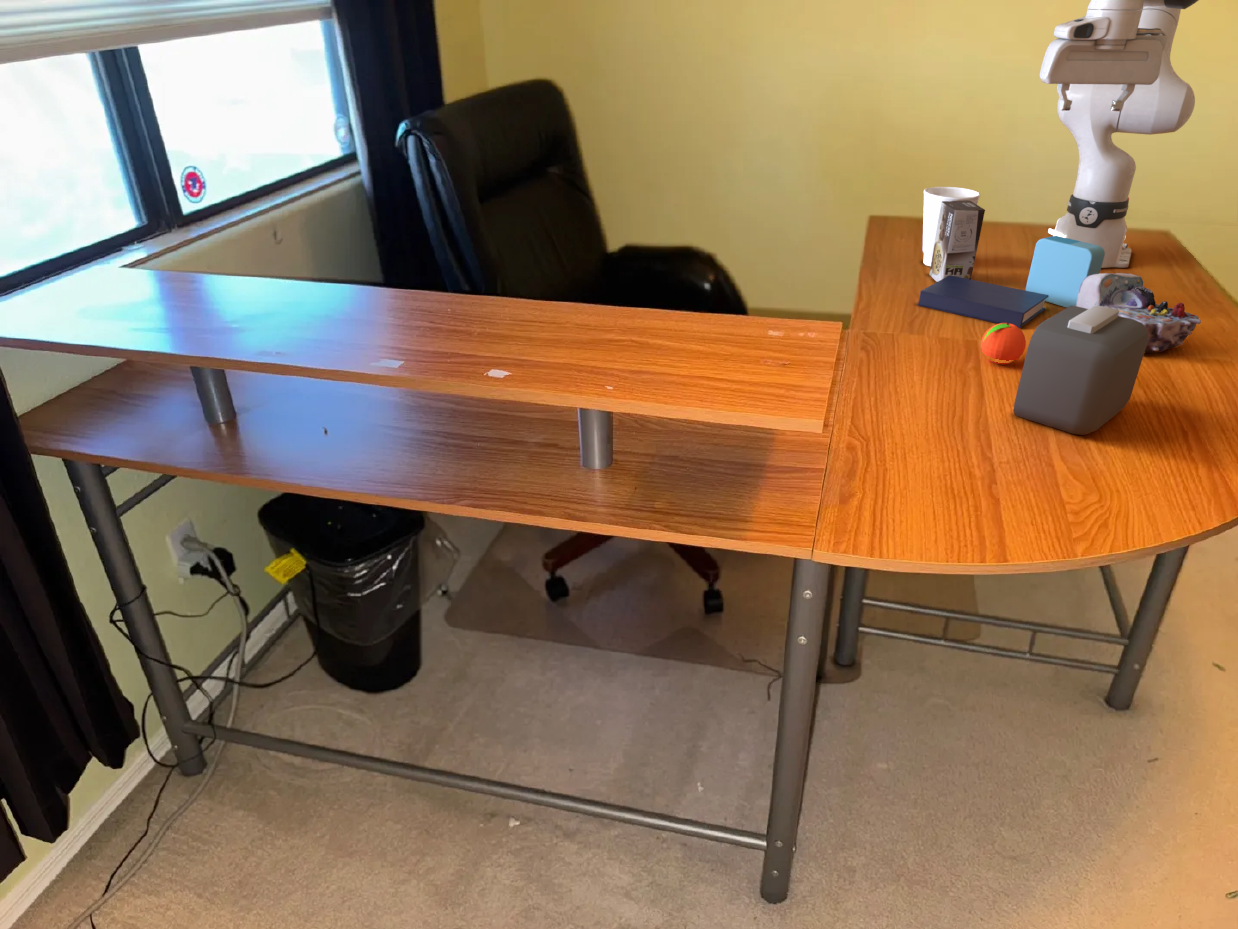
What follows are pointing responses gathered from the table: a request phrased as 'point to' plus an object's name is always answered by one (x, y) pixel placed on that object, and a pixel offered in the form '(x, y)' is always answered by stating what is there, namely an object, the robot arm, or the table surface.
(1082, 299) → the cell model
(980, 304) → the book
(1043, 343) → the alarm clock
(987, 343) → the clementine
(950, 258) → the coffee box
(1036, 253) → the data package
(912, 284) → the table surface
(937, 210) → the cup
